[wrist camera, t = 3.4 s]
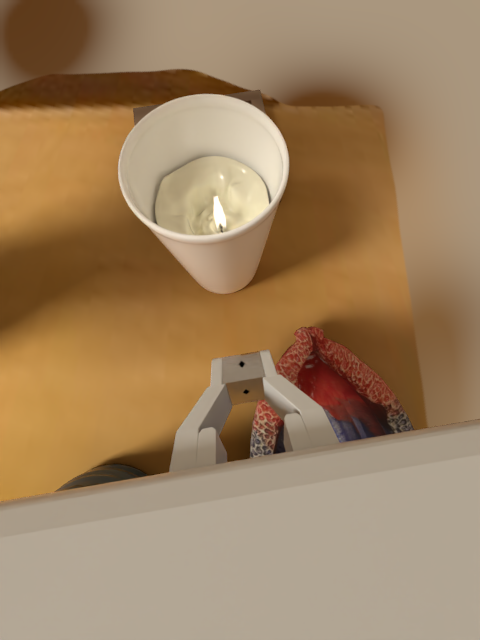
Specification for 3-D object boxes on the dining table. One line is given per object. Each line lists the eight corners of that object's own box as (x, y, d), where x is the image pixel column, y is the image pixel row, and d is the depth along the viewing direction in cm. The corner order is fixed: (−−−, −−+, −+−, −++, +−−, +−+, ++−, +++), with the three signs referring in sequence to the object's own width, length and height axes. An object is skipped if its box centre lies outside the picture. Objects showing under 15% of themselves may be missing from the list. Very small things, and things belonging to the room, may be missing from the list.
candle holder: (279, 256, 22) (324, 146, 10) (230, 317, 21) (214, 275, 9) (218, 212, 23) (194, 67, 11) (168, 268, 22) (80, 173, 10)
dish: (263, 679, 16) (272, 831, 11) (239, 334, 21) (238, 330, 16) (437, 667, 16) (527, 814, 11) (371, 325, 21) (412, 317, 16)
